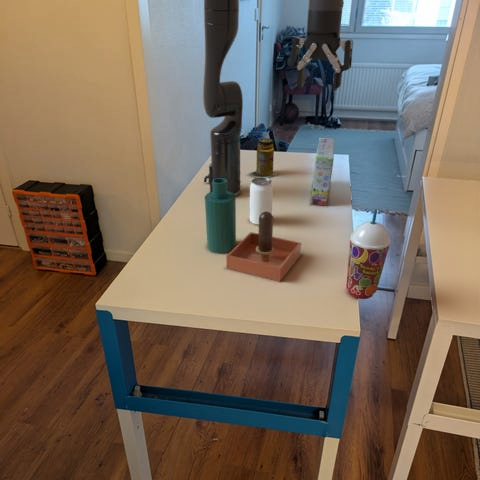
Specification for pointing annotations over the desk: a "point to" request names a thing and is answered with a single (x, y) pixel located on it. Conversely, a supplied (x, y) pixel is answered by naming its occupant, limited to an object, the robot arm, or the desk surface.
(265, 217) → the stopper
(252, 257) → the dish
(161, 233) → the desk surface
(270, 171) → the condiment
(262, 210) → the can
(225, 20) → the robot arm
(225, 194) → the flask
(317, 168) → the snack box
